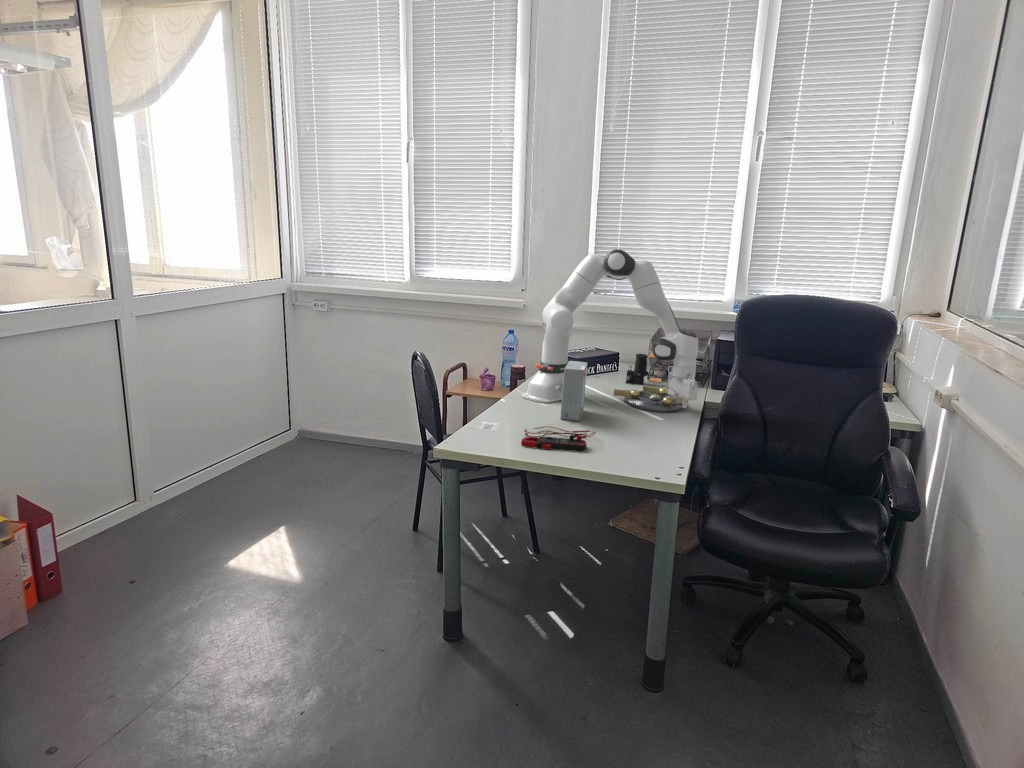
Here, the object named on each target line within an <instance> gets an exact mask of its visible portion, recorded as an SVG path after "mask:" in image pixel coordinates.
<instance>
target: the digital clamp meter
mask: <svg viewBox="0 0 1024 768" xmlns="http://www.w3.org/2000/svg"><path fill="white" fill-rule="evenodd" d="M541 428H548V426H540V427H533V428H532V429H533V430H535V429H537V430H538V429H541ZM550 428H552V429H557V430H560V431H563V432H559V431H551V430H541V431H540V430H539V431H537V432H538V433H537V432H529V431H528V430H527V429H524V432H526V433H524V435H525V436H526V437H523V438H522V439H521V442H520V446H521V445H522V446H521V447H523V446H526V448H534V447H536V449H537V448H539V449H544V450H547V451H549V450H558V449H562V450H561V451H570V450H575V451H574V452H582V451H583V452H585V451H586V449H587V442H586V441H585V439H587V438H591V437H593V436H595V434H596V431H594V430H593V431H592V430H588V429H587V430H573V431H569V430H566V429H562V428H558V427H555V426H550ZM590 432H591V433H590ZM541 433H546V434H543V435H542V434H541ZM587 433H589V434H587ZM529 434H530V435H529ZM538 434H540V435H538ZM534 435H537V436H534ZM549 435H558V436H561V437H552V436H549ZM568 435H569V436H568ZM564 437H565V438H564ZM566 437H567V438H566ZM584 450H585V451H584Z"/></svg>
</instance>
